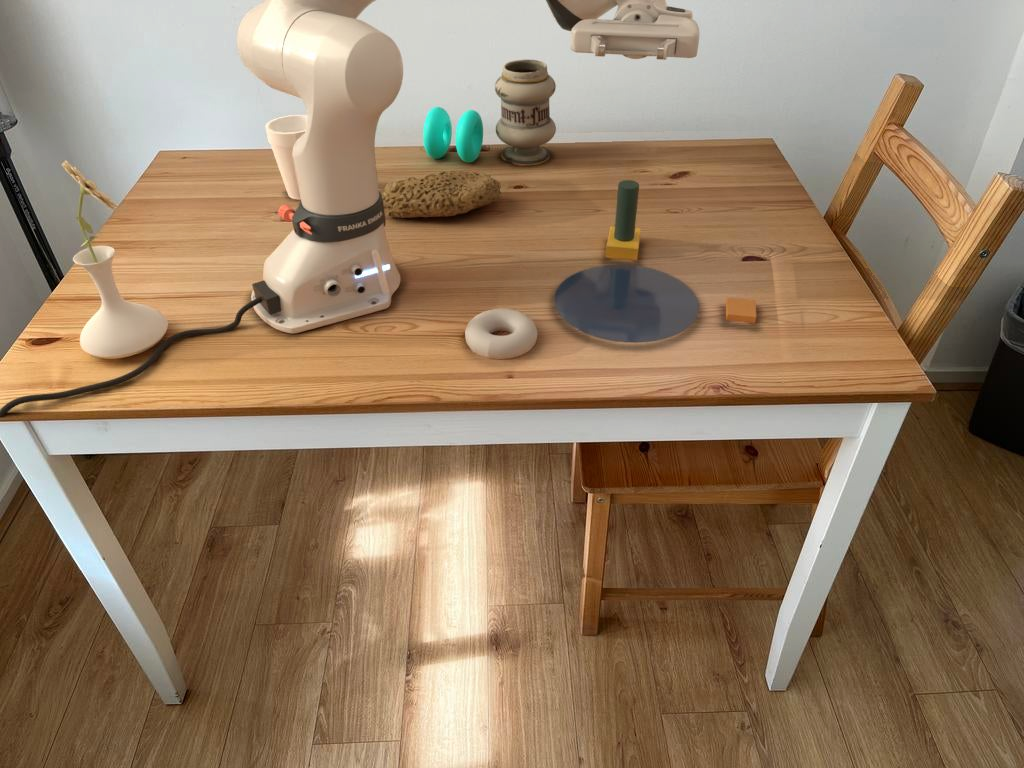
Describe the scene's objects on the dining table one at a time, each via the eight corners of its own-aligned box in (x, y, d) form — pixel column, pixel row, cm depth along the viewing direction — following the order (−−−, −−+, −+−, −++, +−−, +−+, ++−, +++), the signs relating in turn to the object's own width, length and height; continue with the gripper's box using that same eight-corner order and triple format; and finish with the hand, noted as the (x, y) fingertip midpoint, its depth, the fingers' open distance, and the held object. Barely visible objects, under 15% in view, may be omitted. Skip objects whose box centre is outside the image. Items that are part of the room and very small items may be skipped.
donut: (537, 324, 110) (468, 322, 110) (538, 304, 108) (467, 302, 108) (537, 367, 102) (462, 365, 102) (538, 346, 100) (461, 344, 100)
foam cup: (320, 178, 150) (308, 111, 142) (337, 195, 144) (326, 126, 136) (272, 189, 146) (258, 121, 138) (288, 207, 140) (273, 137, 132)
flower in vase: (169, 358, 104) (107, 184, 89) (78, 373, 102) (-2, 198, 86) (173, 307, 114) (118, 143, 99) (91, 320, 112) (20, 154, 96)
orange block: (725, 325, 109) (727, 313, 108) (724, 308, 113) (727, 297, 111) (754, 328, 109) (756, 316, 107) (752, 311, 112) (755, 299, 111)
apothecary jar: (484, 159, 156) (481, 67, 145) (519, 140, 164) (519, 52, 153) (532, 173, 151) (532, 79, 139) (566, 153, 158) (569, 62, 147)
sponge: (385, 233, 134) (495, 216, 130) (373, 188, 131) (485, 169, 127) (405, 212, 146) (507, 196, 141) (395, 171, 142) (499, 153, 138)
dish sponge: (636, 265, 123) (643, 195, 115) (605, 262, 123) (610, 192, 116) (639, 244, 128) (646, 176, 120) (609, 241, 129) (614, 173, 121)
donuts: (470, 171, 152) (468, 120, 146) (423, 165, 154) (418, 116, 148) (485, 152, 159) (484, 103, 153) (440, 147, 161) (437, 99, 155)
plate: (624, 367, 102) (625, 361, 101) (525, 300, 115) (525, 295, 114) (727, 312, 112) (729, 306, 111) (625, 256, 125) (626, 251, 124)
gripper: (576, 5, 128) (564, 27, 117) (702, 10, 124) (700, 33, 114) (575, 45, 132) (562, 70, 121) (696, 51, 128) (694, 77, 118)
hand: (630, 52), depth 118 cm, fingers open, 8 cm apart
